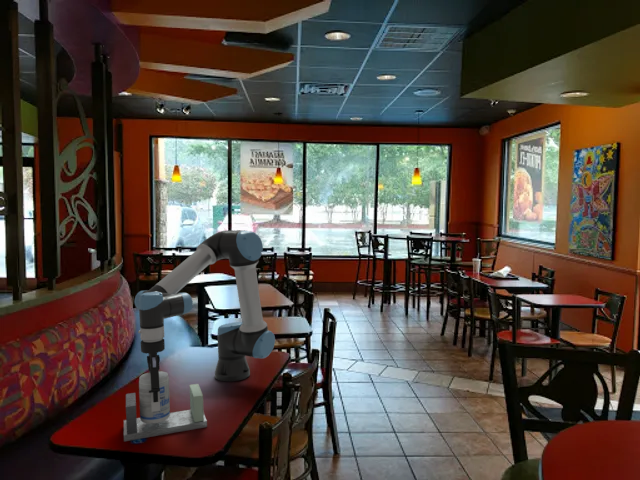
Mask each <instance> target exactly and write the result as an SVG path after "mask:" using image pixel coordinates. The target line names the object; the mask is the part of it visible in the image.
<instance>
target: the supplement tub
mask: <svg viewBox="0 0 640 480" xmlns="http://www.w3.org/2000/svg"><path fill="white" fill-rule="evenodd" d="M138 378H139V380H138V389H139V390H138V395H139V396H138V397H139V418H140V419H141V421H142V422H144V423H148V424H153V423H159V422H162V421H165V420H166V419H168V417H169V416H170V413H171V411H170V410H171V408H170V407H171V406H170V404H171V403H170V402H171V401H170V378H169V373H168V372H166V371H160V370H159V388H160V411H154V412H152V410H151V393H149V391H151V376H150V372H149V371H148V372H146V373H144V374H141V375H140V376H139V377H138Z"/></svg>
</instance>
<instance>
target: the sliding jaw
mask: <svg viewBox="0 0 640 480" xmlns="http://www.w3.org/2000/svg"><path fill="white" fill-rule="evenodd" d="M189 401H190V402H189V404H190V405H189V406H190V409H189V410H191V412H192V415H193V419H194V422H199V421H204V415H205V412H204V395H203V392H202V390H201V387H200V385H199V383H194V384H189Z"/></svg>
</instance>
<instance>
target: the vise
mask: <svg viewBox="0 0 640 480" xmlns="http://www.w3.org/2000/svg"><path fill="white" fill-rule="evenodd" d="M136 396H137V395H136V392H131V393H126V394H125V415H126V417H125V419H123V442H129V441H135V440H140V439H145V438H150V437H156V436H163V435H164V436H165V435H168V434H169V435H170V434H174V433H179V432H180V433H181V432H185V431H190V430H191V431H193V430H196V429H197V430H198V429H203V428H207V427H208V420H207V418H206V415H205V414H204V421H199V422H194V419H193V415H192V412H191V409H187V410H180V411H173V412H170V416H169V417H168V419H166V420H165V421H162V422H159V423H153V424H148V423H144V422H142V421H141V419H140V417H137V402H136V401H137V399H136Z"/></svg>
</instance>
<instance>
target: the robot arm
mask: <svg viewBox="0 0 640 480" xmlns="http://www.w3.org/2000/svg"><path fill="white" fill-rule="evenodd" d="M263 249H264V246H263V241H262V239H261V237H260V236H259V235H258V234H257V233H256V232H254V231H251V230H221V231H218V232H216V233H213V234H212V235H211V236H209V237H208V238H206V239H205V240H203V241H202V242H201V243H200V244H198V245H197V247H196V250H195V251H194V252H193V253H192V254H191V255H189V256H188V257H187V258H186V259H185V260H183V261H182V262H181V263H180V264H179V265H177V266H176V267H175V268H173V270H171V271H170V272H169V273H168V274H167V275H165V276H164V277H163V278H161V280H159V282H157V283H156V284H155V285H154V286H152V287H151V288H150V289H149V290H148V289H145V290H140V291H138V292H137V293H136V295H135V298H134V306H135V307H136V309H137V310H138V313H139V314H138V316H139V329H140V330H138V331H137V333H138V334H139V335H140V340H141V341H140V351H141V353H143V354H148V355H147V356H146V362H147V368H148V373H149V372H150V376H151V391H149V393H151V410H152V412H154V411H160V388H159V371H160V361H161V360H160V359H161V357H160V354H158V353H161V352H163V351H165V350H166V349H165V347H166V345H165V339H164V338H165V319H169V318H173V317H178V316H182V315H185V314H188V313H190V312H191V310H192V309H193V305H194V303H193V299H192V296H191V295H190V294H189V293H187V292H180V291H181V290H183V288H184V287H185V286H187V285H188V284H189V283H190V282H191V281H192V280H193V279H195V278H196V277H197V276H198V275H199V274H200V273H201V272H203V270H204V269H206V268H207V267H208V266H209V265H214V264H215V263H216V262H218V261H220V260H223V259H225V260H226V259H228V261H229V267H231V268H232V269H233V270H234V276H235V281H236V282H235V283H236V288H237V289H236V290H237V295H238V296H237V297H238V302H239V304H238V305H239V310H240V317H241V321H236V322H229V323H225V324H221V325H219V326H218V328H217V335H216V336H217V352H218V353H217V355H218V358H217V359H218V360H217V362H216V363H217V364H216V367H215V370H214V378H215V379H216V380H217V381H220V382H237V381H241V380H245V379H248V378H249V377H250V375H251V371H250V367H249V364H248V361H247V358H246V357H251V358H254V359H266V358H267V357H269V355H270V354H271V353H272V351H273V349H274V347H275V343H276V337H275V334H274V332H272V331H271V330H269V329H268V328H269V327H268V323H267V322H266V321H265V320H264V318H263V312H262V311H263V310H262V305H261V298H260V296H261V295H260V290H259V283H258V274H257V265H258V264H259V259H260V258H261V256H262V254H263V253H262V252H263V251H264V250H263Z"/></svg>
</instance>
